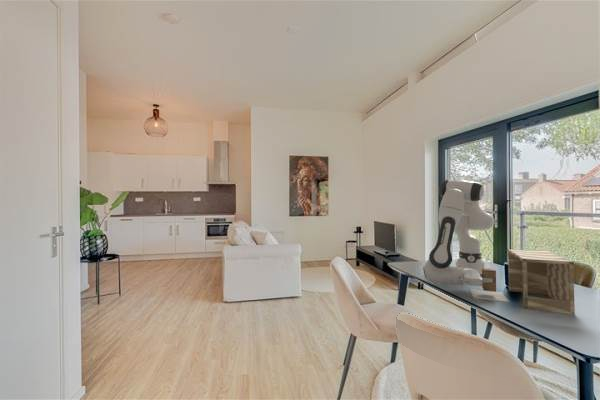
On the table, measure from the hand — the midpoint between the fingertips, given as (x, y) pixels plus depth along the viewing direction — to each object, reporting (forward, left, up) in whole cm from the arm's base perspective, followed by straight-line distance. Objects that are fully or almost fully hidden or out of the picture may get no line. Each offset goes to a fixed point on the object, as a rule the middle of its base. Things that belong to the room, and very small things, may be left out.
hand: (491, 278), depth 134 cm
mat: (0, -1, -8) cm, 9 cm away
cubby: (0, +18, -8) cm, 20 cm away
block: (0, -1, -5) cm, 6 cm away
